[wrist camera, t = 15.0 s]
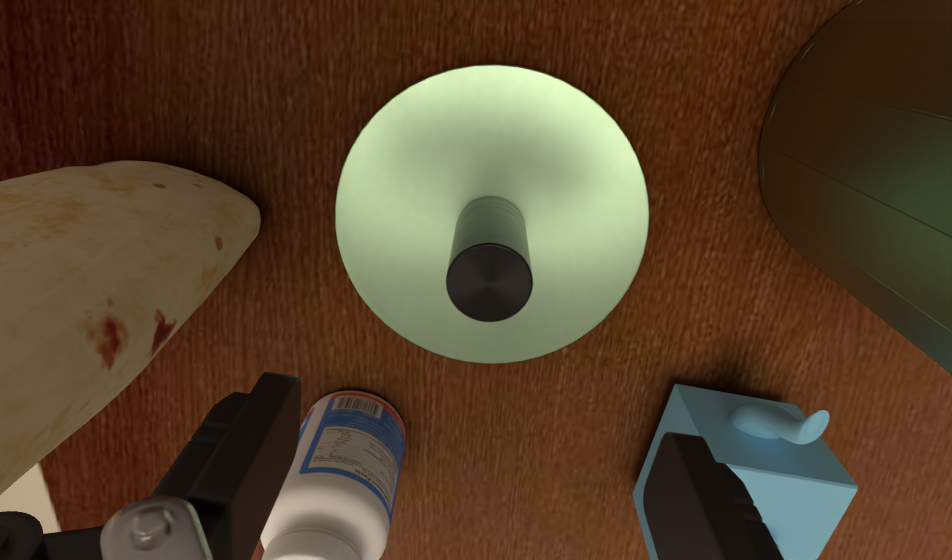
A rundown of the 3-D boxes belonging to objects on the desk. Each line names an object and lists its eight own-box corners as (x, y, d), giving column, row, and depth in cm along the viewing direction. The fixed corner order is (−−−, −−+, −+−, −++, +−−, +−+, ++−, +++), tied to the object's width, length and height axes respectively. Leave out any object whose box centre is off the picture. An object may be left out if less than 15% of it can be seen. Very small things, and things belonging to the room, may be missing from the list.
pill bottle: (348, 483, 33) (293, 658, 24) (284, 416, 31) (200, 578, 22) (429, 441, 31) (402, 611, 23) (367, 369, 30) (312, 522, 21)
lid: (350, 35, 23) (299, 44, 17) (683, 91, 24) (746, 118, 18) (332, 329, 29) (289, 413, 23) (602, 370, 29) (629, 463, 23)
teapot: (692, 313, 28) (755, 411, 21) (816, 335, 28) (918, 440, 21) (620, 501, 33) (653, 631, 26) (726, 519, 33) (786, 652, 26)
